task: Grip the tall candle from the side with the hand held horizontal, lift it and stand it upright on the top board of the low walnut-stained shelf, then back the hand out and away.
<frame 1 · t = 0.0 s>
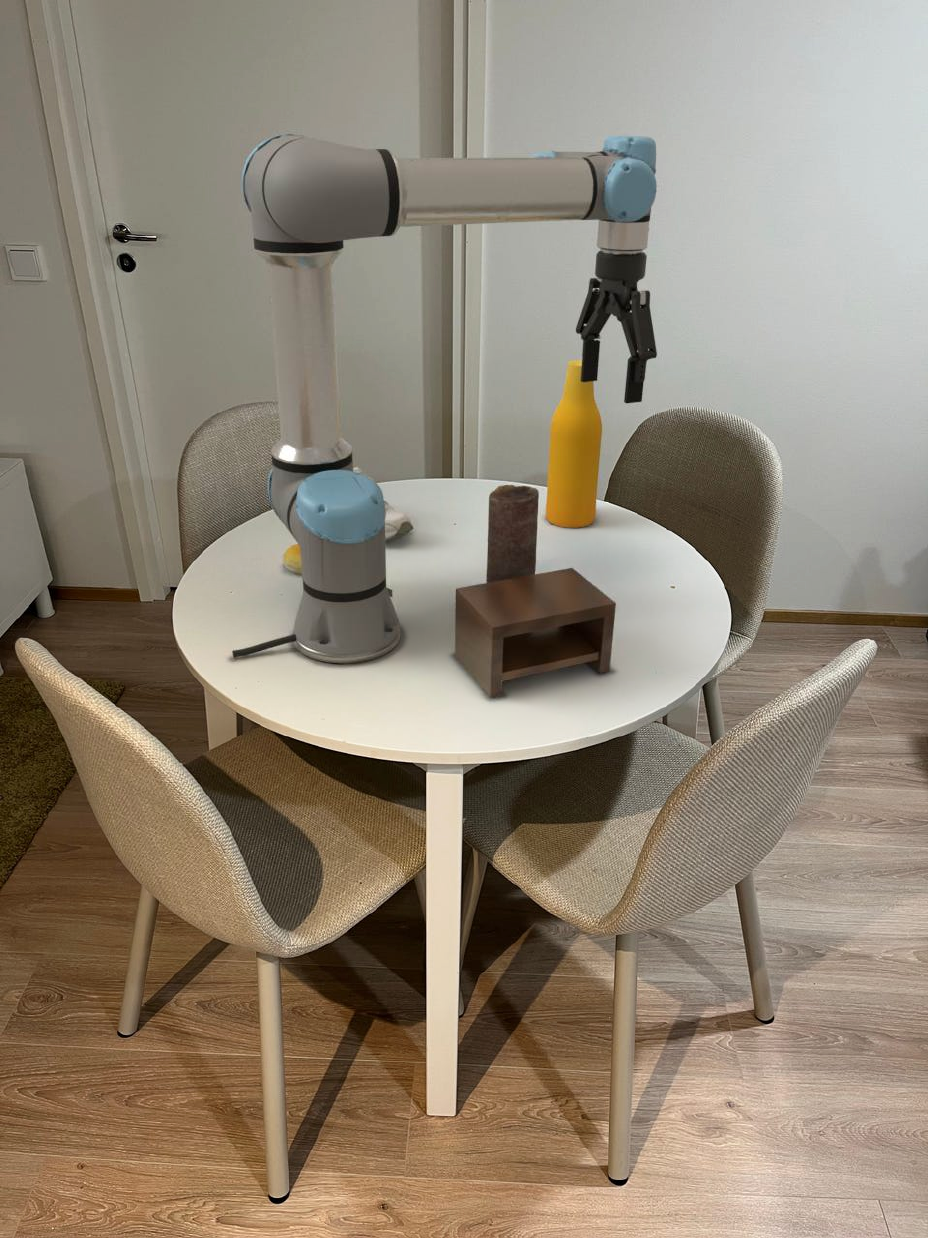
hand: (610, 391, 157), 28 cm above the table, tool pointing down, fingers open, 13 cm apart
beer bottle: (569, 520, 183), on the table
shelf: (531, 663, 136), on the table
athletic shoe: (364, 529, 178), on the table
bread roll: (312, 566, 163), on the table
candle: (509, 614, 149), on the table
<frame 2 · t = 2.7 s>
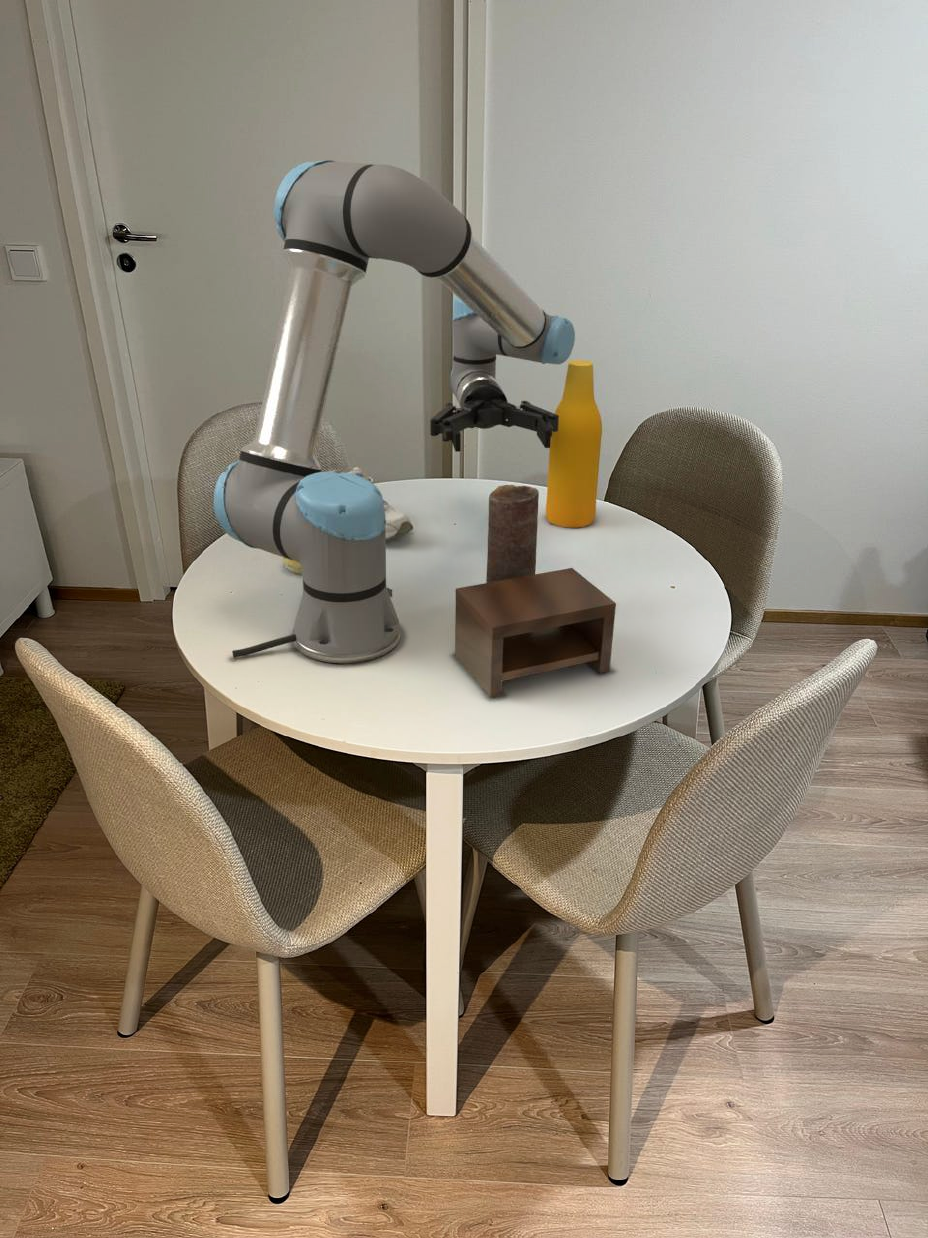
hand: (503, 441, 146), 24 cm above the table, tool horizontal, fingers open, 13 cm apart
nothing on the table moved.
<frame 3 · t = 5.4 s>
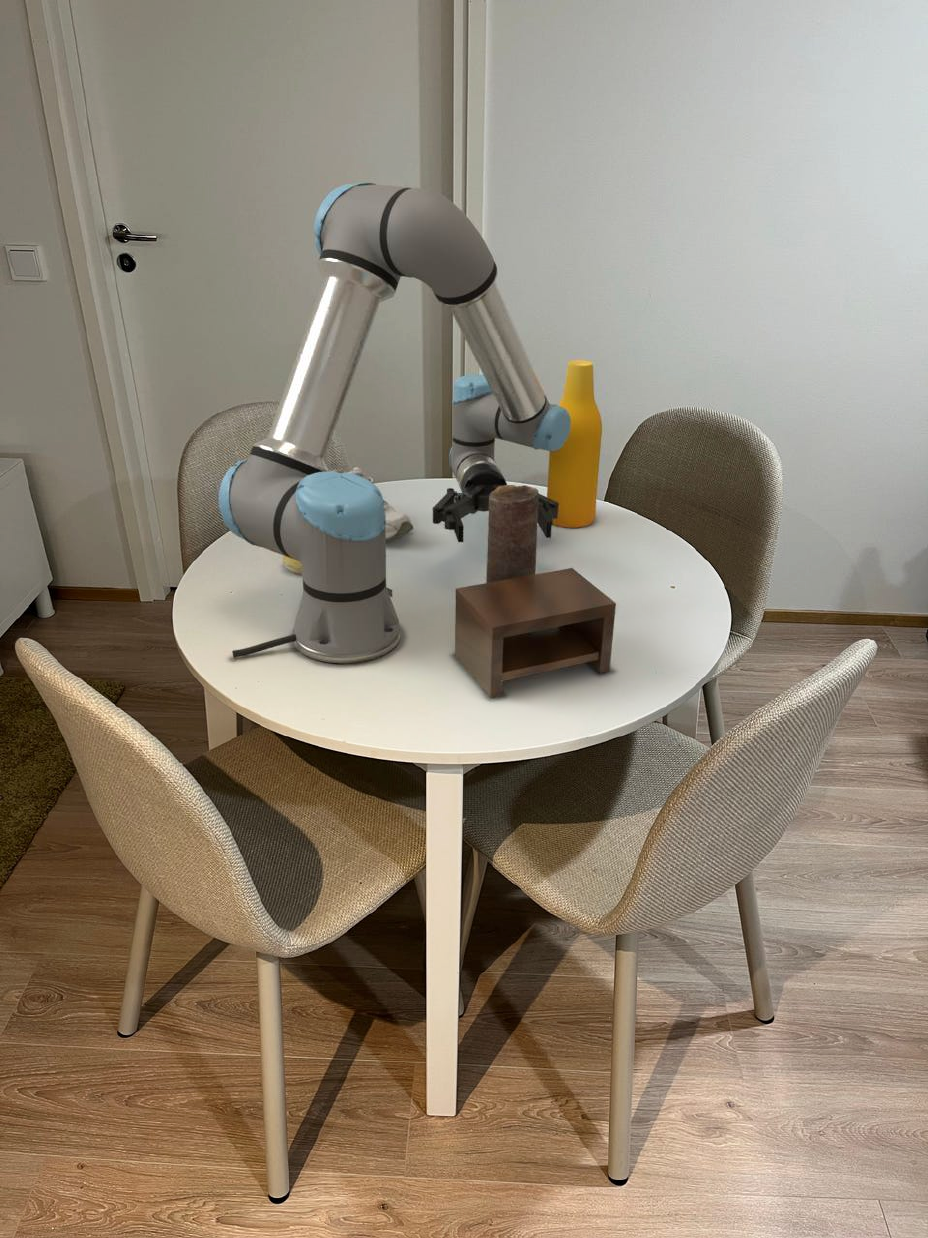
hand: (505, 532, 149), 11 cm above the table, tool horizontal, fingers open, 13 cm apart
nothing on the table moved.
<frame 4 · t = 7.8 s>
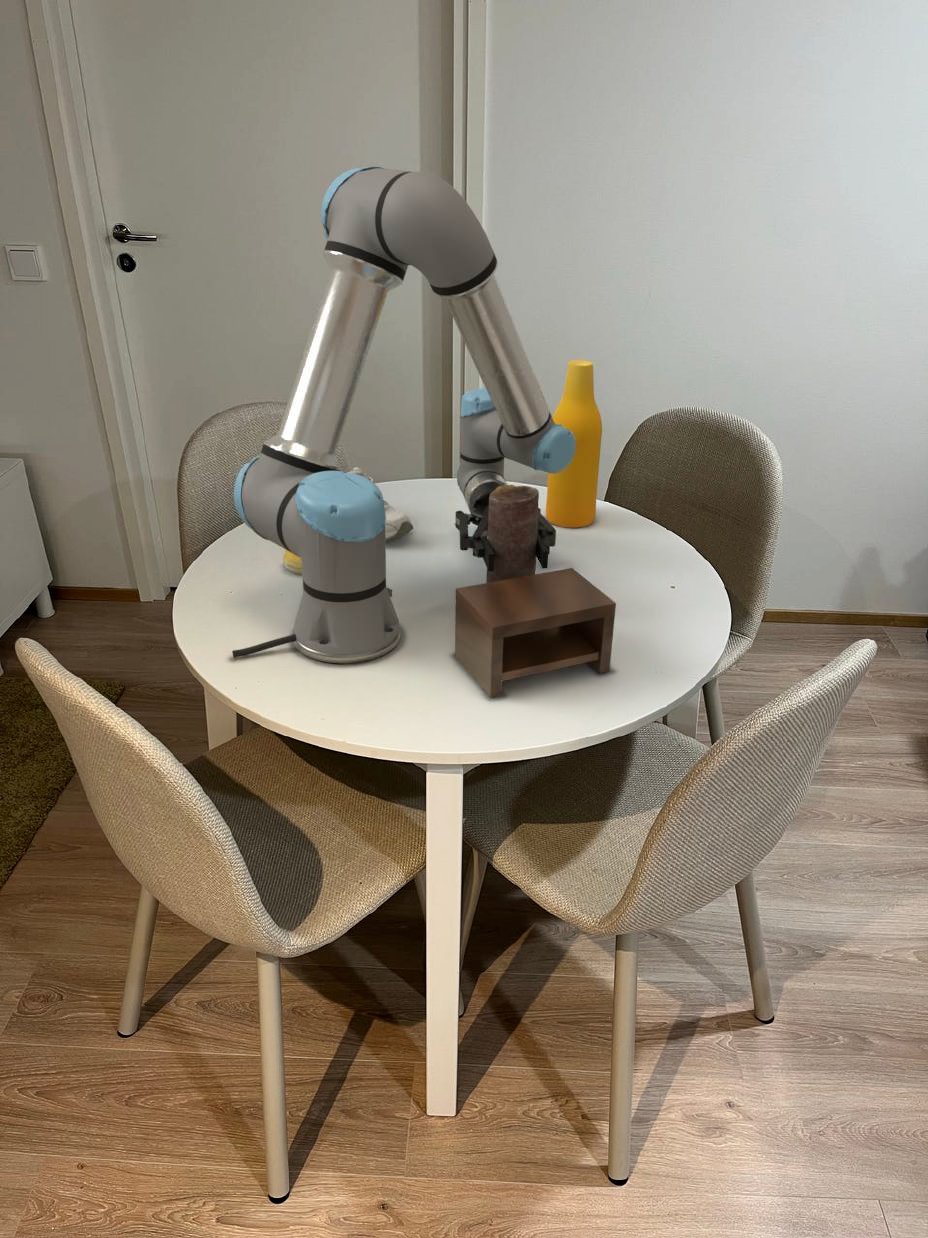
hand: (518, 561, 139), 11 cm above the table, tool horizontal, fingers closed on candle, 7 cm apart
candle: (509, 614, 149), on the table, touching gripper
everything else where it was.
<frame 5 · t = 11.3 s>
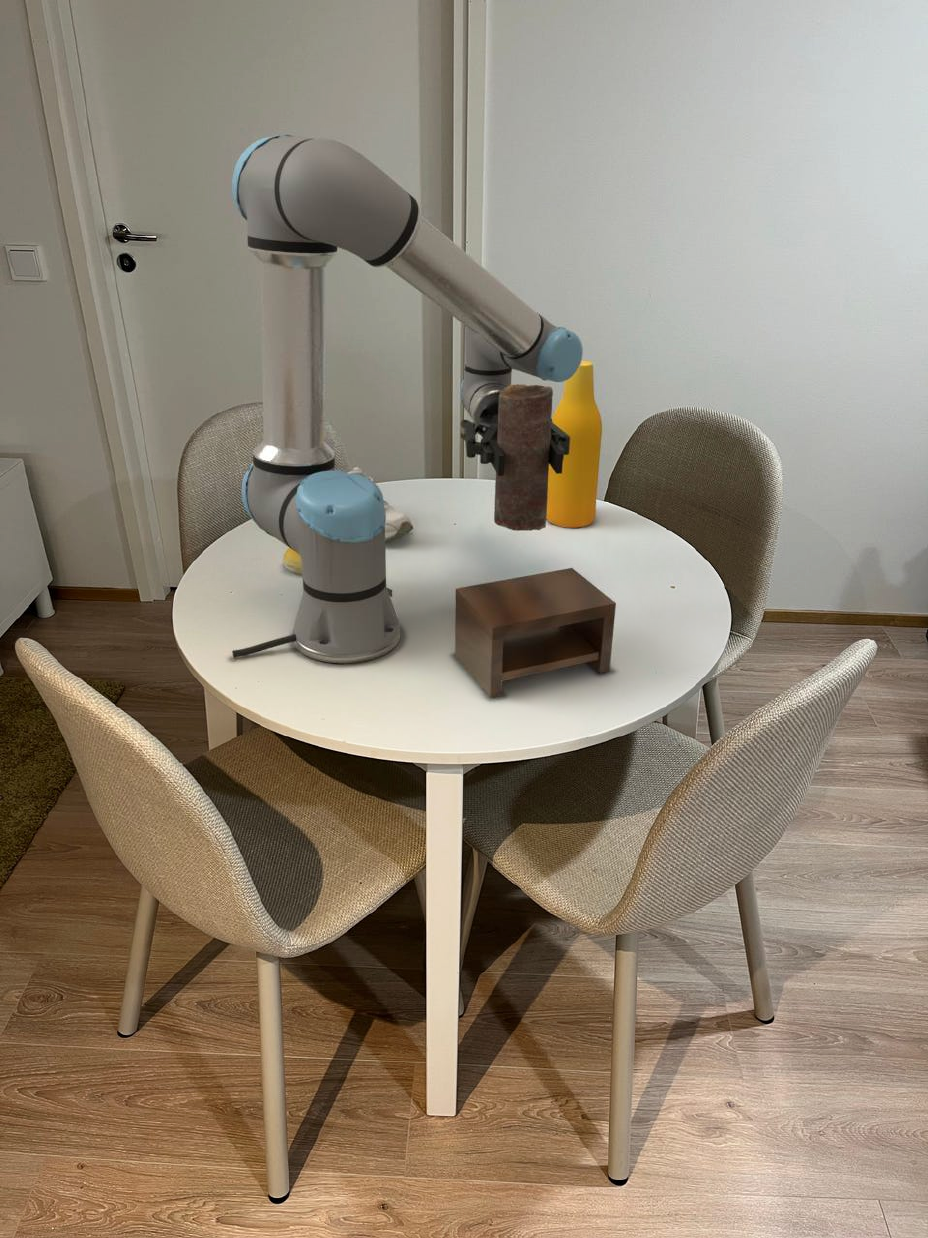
hand: (530, 464, 129), 27 cm above the table, tool horizontal, fingers closed on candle, 7 cm apart
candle: (519, 529, 138), point 15 cm above the table, touching gripper
everything else where it was.
when the fingers open (21 cm above the table, at t = 15.0 s): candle stays where it is, resting on shelf.
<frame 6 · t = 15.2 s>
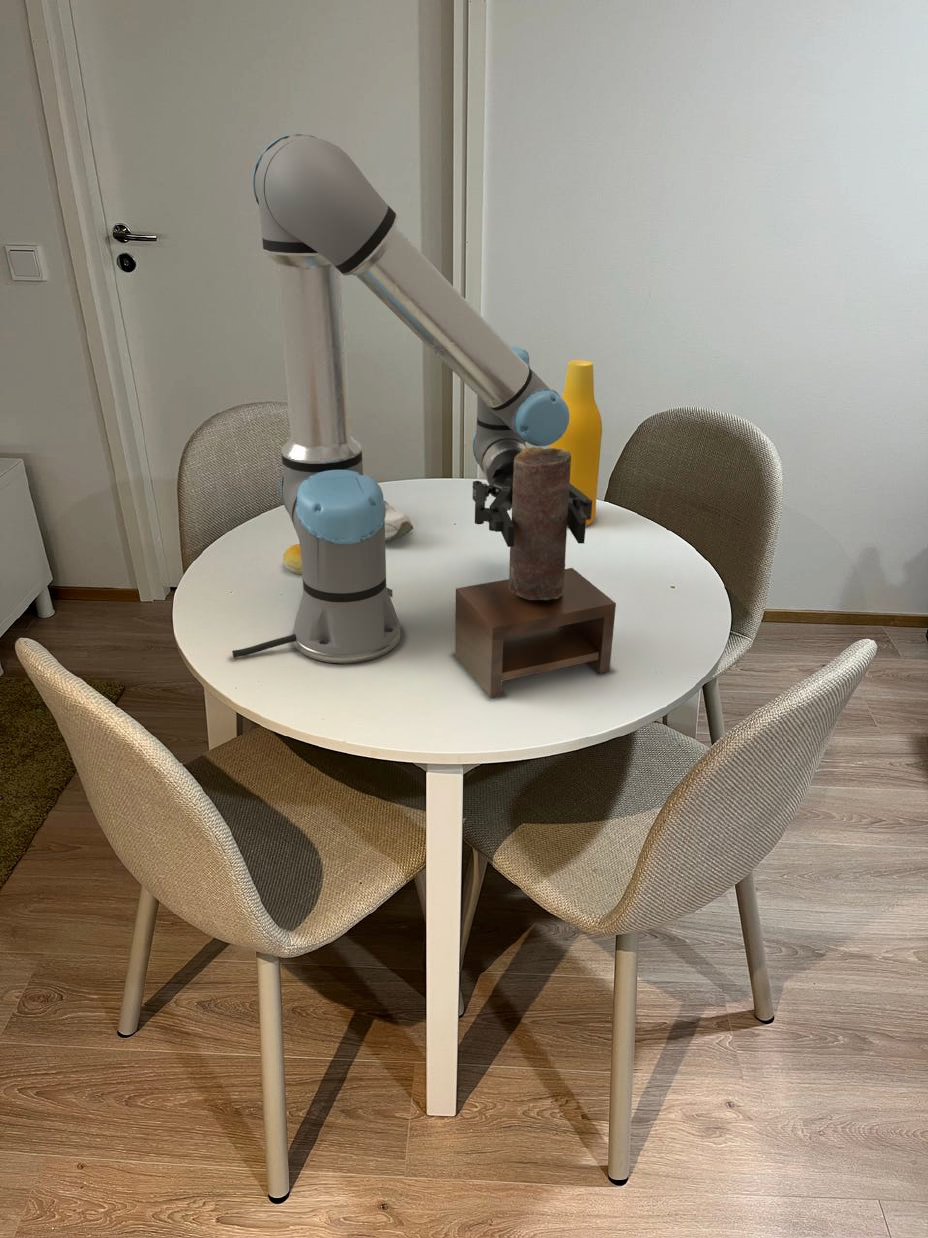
hand: (546, 535, 122), 21 cm above the table, tool horizontal, fingers open, 8 cm apart
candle: (535, 596, 131), point 10 cm above the table, touching shelf
everything else where it was.
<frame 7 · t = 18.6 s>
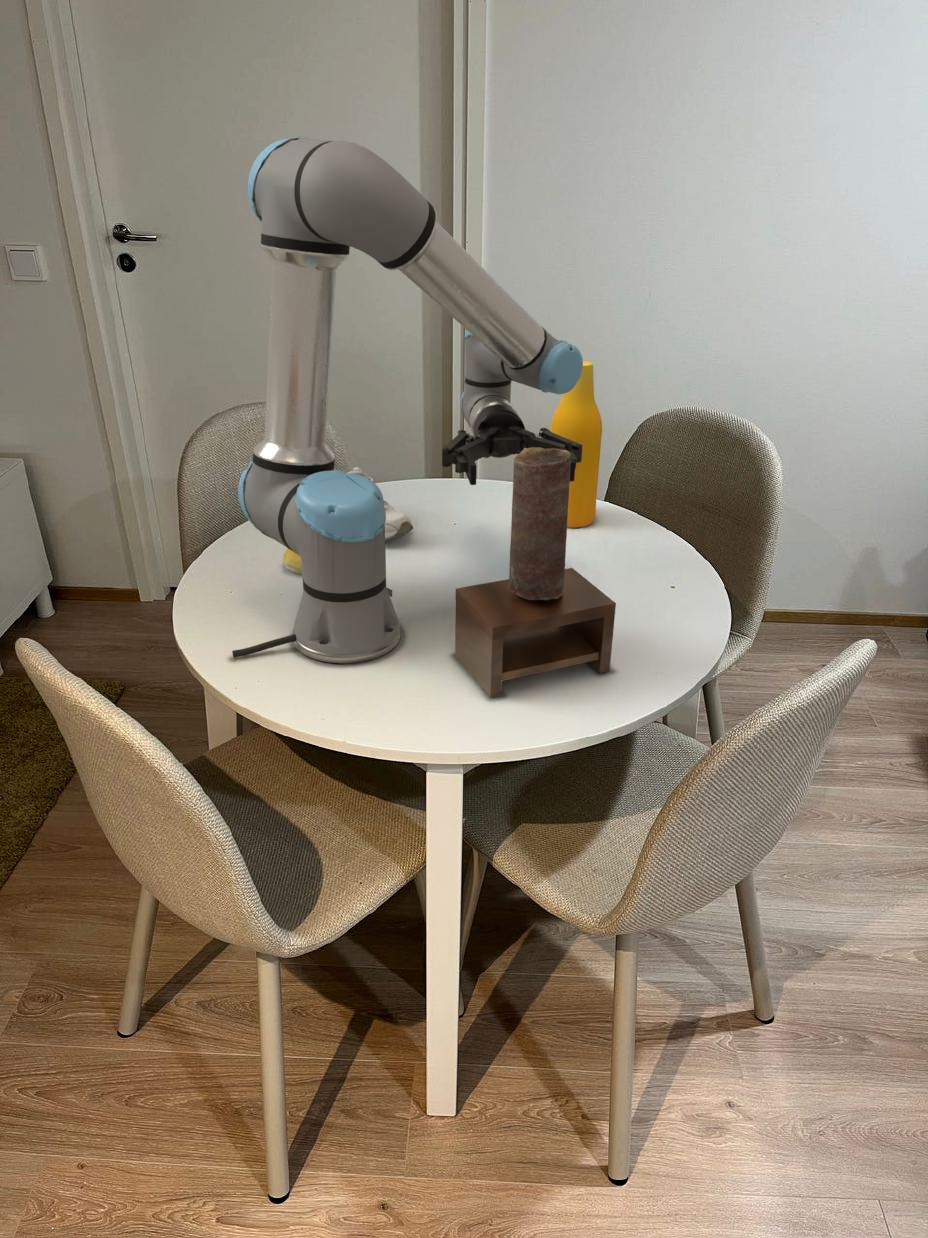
hand: (523, 473, 133), 24 cm above the table, tool horizontal, fingers open, 13 cm apart
nothing on the table moved.
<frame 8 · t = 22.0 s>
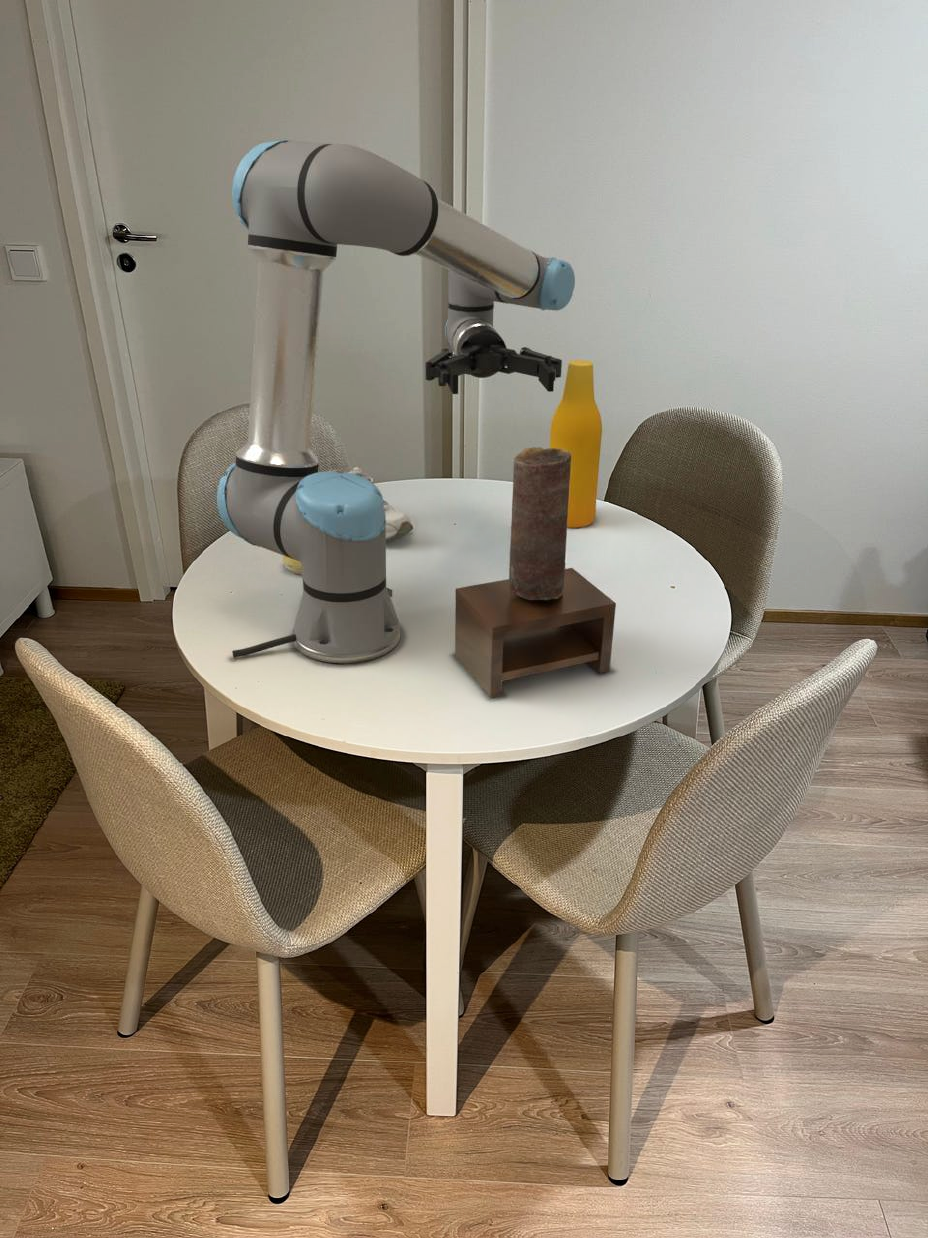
hand: (503, 383, 137), 34 cm above the table, tool horizontal, fingers open, 13 cm apart
nothing on the table moved.
at the end: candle inside the target area on the shelf (0.1 cm from its centre), point 10.3 cm above the shelf's base; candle tilted 0°; the gripper is holding nothing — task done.
